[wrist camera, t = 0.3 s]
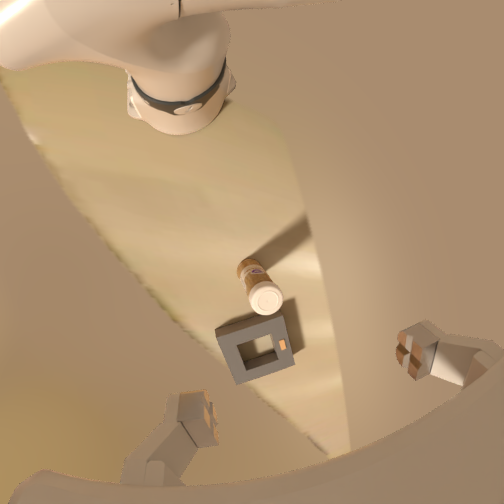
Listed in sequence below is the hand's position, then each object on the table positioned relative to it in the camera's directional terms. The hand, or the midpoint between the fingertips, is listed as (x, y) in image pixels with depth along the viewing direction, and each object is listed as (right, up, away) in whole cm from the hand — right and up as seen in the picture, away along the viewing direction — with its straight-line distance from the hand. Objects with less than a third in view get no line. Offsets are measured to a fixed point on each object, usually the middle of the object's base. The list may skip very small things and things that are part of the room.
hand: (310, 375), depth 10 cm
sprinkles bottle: (-3, +2, +40) cm, 40 cm away
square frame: (-2, -14, +44) cm, 46 cm away
